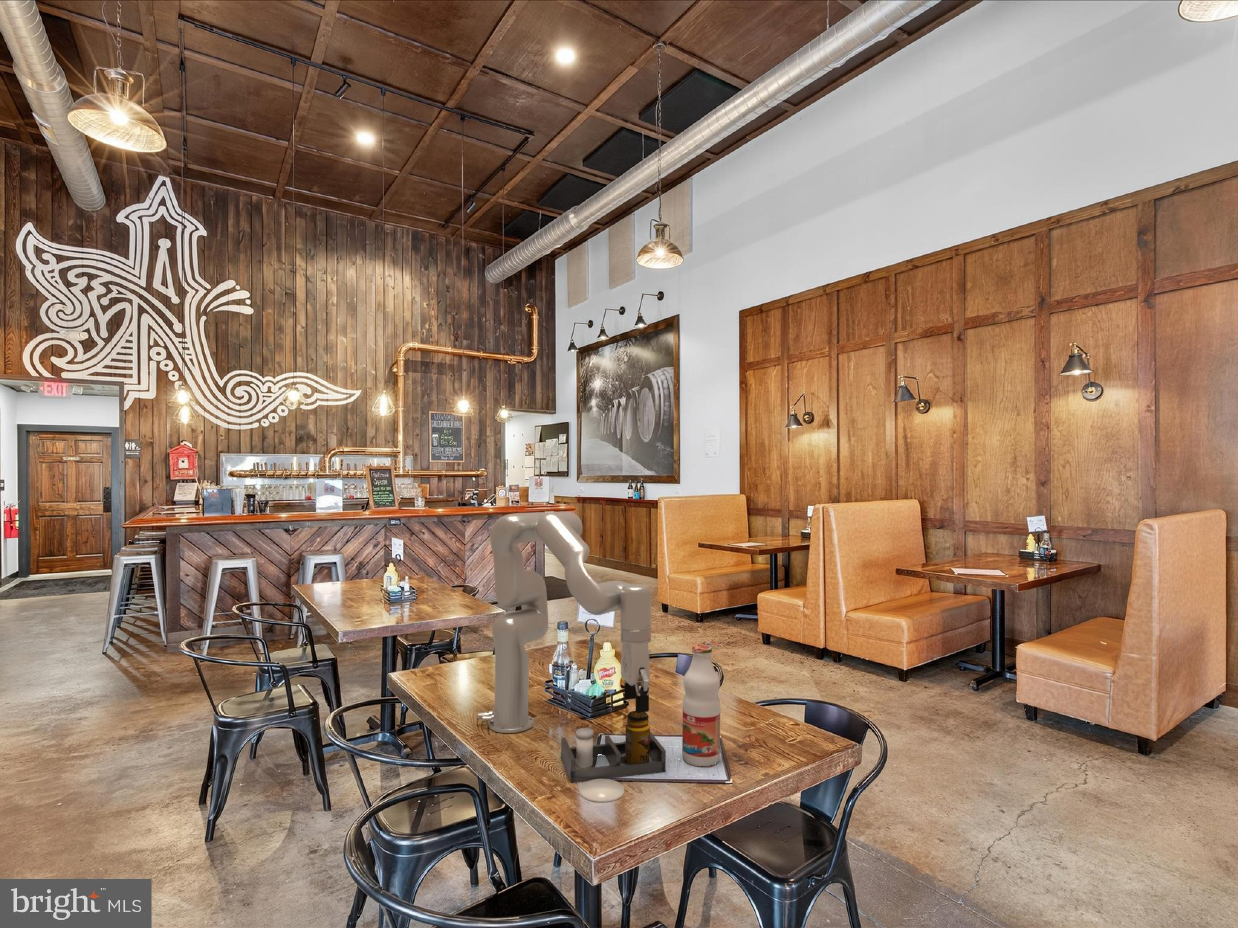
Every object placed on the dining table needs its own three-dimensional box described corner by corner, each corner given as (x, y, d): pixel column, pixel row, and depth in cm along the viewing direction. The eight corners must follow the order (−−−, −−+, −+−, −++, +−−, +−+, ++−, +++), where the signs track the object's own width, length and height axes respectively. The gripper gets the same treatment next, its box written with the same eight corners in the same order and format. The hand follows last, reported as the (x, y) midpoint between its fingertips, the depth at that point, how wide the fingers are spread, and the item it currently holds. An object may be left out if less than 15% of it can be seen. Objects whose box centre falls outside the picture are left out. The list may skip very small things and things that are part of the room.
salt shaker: (577, 768, 151) (578, 735, 151) (574, 761, 155) (574, 728, 155) (594, 767, 152) (595, 733, 152) (590, 759, 156) (591, 727, 156)
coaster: (584, 804, 134) (584, 802, 134) (575, 782, 144) (575, 781, 144) (629, 799, 136) (629, 797, 136) (617, 778, 146) (617, 776, 146)
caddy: (570, 782, 144) (571, 760, 144) (561, 758, 156) (561, 738, 156) (665, 771, 150) (665, 750, 150) (648, 749, 162) (649, 729, 162)
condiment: (654, 767, 152) (654, 717, 152) (620, 771, 150) (620, 720, 150) (646, 755, 159) (646, 707, 159) (613, 757, 157) (614, 709, 157)
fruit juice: (727, 759, 157) (728, 647, 158) (703, 771, 150) (704, 653, 151) (698, 747, 164) (699, 639, 164) (674, 758, 157) (675, 645, 158)
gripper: (612, 628, 163) (612, 695, 162) (631, 644, 146) (631, 718, 145) (640, 626, 165) (640, 692, 164) (661, 641, 148) (662, 715, 147)
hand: (636, 704), depth 155 cm, fingers open, 9 cm apart
